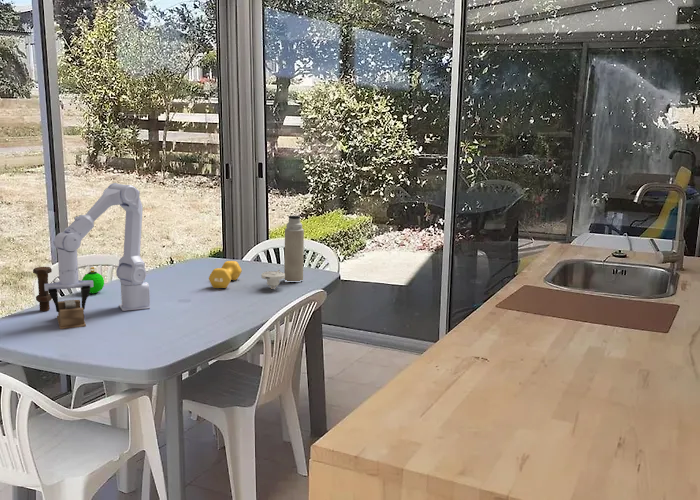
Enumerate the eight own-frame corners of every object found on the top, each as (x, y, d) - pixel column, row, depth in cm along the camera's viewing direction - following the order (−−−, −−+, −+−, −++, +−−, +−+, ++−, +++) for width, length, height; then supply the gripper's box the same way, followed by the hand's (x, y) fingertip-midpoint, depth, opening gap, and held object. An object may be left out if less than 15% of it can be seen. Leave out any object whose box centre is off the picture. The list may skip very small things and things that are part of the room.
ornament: (105, 290, 255) (104, 265, 253) (104, 295, 247) (103, 269, 245) (82, 291, 252) (81, 265, 251) (81, 296, 245) (79, 270, 243)
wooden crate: (81, 315, 222) (80, 299, 221) (85, 326, 210) (85, 309, 209) (57, 317, 218) (56, 301, 217) (60, 329, 206) (59, 311, 205)
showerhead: (289, 270, 266) (278, 275, 256) (289, 287, 267) (277, 293, 258) (269, 267, 269) (257, 272, 260) (269, 285, 270) (256, 290, 261)
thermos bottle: (291, 277, 284) (292, 213, 279) (306, 280, 280) (307, 215, 275) (280, 281, 278) (281, 215, 272) (295, 284, 273) (296, 217, 268)
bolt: (45, 313, 222) (43, 270, 220) (32, 312, 223) (29, 269, 221) (56, 308, 228) (54, 266, 225) (43, 307, 229) (41, 265, 226)
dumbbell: (229, 290, 260) (229, 270, 259) (207, 289, 262) (207, 269, 260) (243, 279, 279) (243, 260, 277) (222, 278, 280) (222, 259, 279)
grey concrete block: (75, 317, 217) (74, 299, 216) (76, 322, 212) (75, 304, 211) (65, 318, 216) (64, 300, 215) (66, 323, 211) (65, 305, 210)
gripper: (44, 273, 204) (46, 315, 207) (93, 270, 211) (95, 310, 213) (43, 269, 210) (45, 309, 213) (91, 265, 217) (93, 305, 219)
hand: (70, 310), depth 213 cm, fingers open, 7 cm apart
